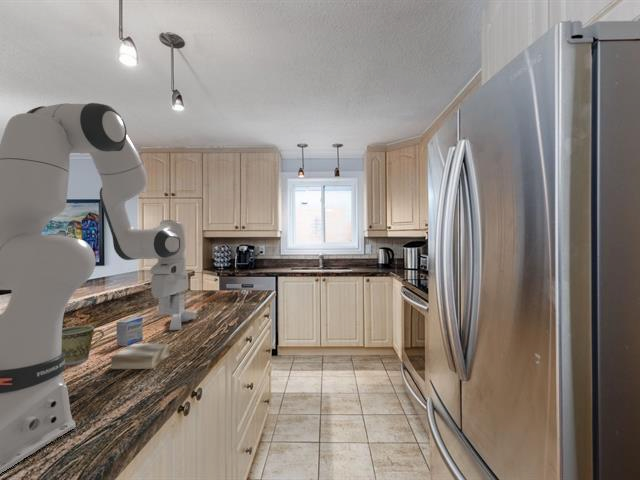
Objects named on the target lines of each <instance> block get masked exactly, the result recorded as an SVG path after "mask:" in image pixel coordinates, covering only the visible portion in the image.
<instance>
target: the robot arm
mask: <svg viewBox="0 0 640 480" xmlns="http://www.w3.org/2000/svg"><path fill="white" fill-rule="evenodd" d="M126 127H127V126H126V124H125V121H124V119H123V117H122V116H121V115H120V113H118V112H117V111H116V110H115V108H113V107H112V106H111V105H110V106H109V105H107V104H103V103H97V102H90V103H67V102H66V103H58V104H54V105H53V104H52V105H48V106H47V105H46V106H44V105H43V106H41V105H40V106H38V107H34V108H32V109H30V110H28V111H27V112H25V113H18V114H16V115H13V116H11V117H10V119H9V120H8V122H7V124H6V127H5V128H4V131H3V134H2V137H1V141H0V291H11V294H10V297H9V301H8V304H7V306H6V308H5V310H4V311H3V312H2V313H1V314H0V474H1V473H2V472H4V471H6V470H7V469H9V468H11V467H12V466H14V465H15V464H17V463H18V462H20V461H21V460H23V459H24V458H26V457H28V456H29V455H30V454H32V453H34V452H35V451H37V450H38V449H40V448H41V447H43V446H45V445H46V444H48V443H50V442H51V441H53V440H54V439H56V438H57V437H59V436H61V435H63V434H65V433H67V432H68V431H70V430H72V429H74V428H75V427H76V428H77V426H76V421H75V420H74V419H73V416H72V413H71V406H70V404H71V403H70V396H69V391H68V386H67V384H66V382H65V379H64V375H63V374H64V373H63V372H64V370H65V368H66V366H65V359H64V352H62V329H63V324H64V323H63V322H64V315H65V310H66V308H67V306H68V303H69V301H70V300H71V297H72V296H73V295H74V293H75V292H76V291H77V289H79V287H81V286H82V285H83V284H85V283H87V282H88V280H89V279H90V278H91V277H92V275H93V273H94V270H95V268H96V263H97V261H96V260H97V259H96V255H95V252H94V250H93V248H92V247H91V245H90V244H89V243H88V242H87V241H85V240H83V239H81V238H80V239H79V238H75V237H73V236H67V235H60V234H43V232H44V230H45V228H46V226H47V225H48V224H49V222H51V221H52V219H54V218H55V217H57V216H59V215H60V214H61V213H62V212H64V210H65V209H66V207H67V201H68V191H69V189H68V187H69V178H70V155H71V154H89V155H90V156H91V158H92V162H93V164H94V166H95V168H96V171H97V173H98V174H99V177H100V180H101V188H100V189H99V200H100V203H101V207H102V210H103V213H104V216H105V220H106V222H107V224H108V228H109V230H110V233H111V237H112V243H113V249H114V252H115V253H116V255H117V256H118V257H120V259H122V260H123V261H124V260H125V261H134V260H153V259H155V260H156V259H157V262H156V263H155V264H154V265H153V266H152V267H151V268H150V275H152V276H151V282H150V284H151V286H150V287H151V295H152V297H153V298H156V299H159V298H162V300H163V302H164V308H165V309H169V308H171V303H170V295H173V294H176V295H182V293H181V292H184V291H187V290H188V289H189V275H188V271H187V270H186V268H187V267H186V264H187V263H186V262H187V261H186V259H187V258H186V254H185V249H186V243H187V240H186V229H185V226H184V224H183V223H182V222H180V221H179V220H178V221H177V220H171V219H170V220H169V219H165V220H162V221H160V222H159V225H158V226H156V227H154V228H151V229H150V228H149V229H144V228H141V229H138V228H135V227H133V226H132V225H131V222H130V219H129V215H128V211H127V209H126V202H127V201H130V200H131V199H134V197H137V196H139V194H140V193H142V192H143V191H144V189H145V188H146V186H147V183H148V175H147V172H146V169H145V167H144V165H143V162H142V160H141V157H140V155H139V153H138V150H137V149H136V147H135V146H134V144H133V142H132V140H131V139H130V137H129V136H128V134H127V128H126ZM76 428H75V429H76ZM75 429H74V430H75ZM72 431H73V430H72ZM67 434H68V433H67ZM28 458H29V457H28ZM20 463H21V462H20ZM17 465H18V464H17ZM15 466H16V465H15ZM15 466H14V467H15ZM12 468H13V467H12ZM12 468H11V469H12ZM9 470H10V469H9ZM7 471H8V470H7ZM7 471H6V472H7ZM4 473H5V472H4ZM2 474H3V473H2ZM2 474H1V475H2Z"/></svg>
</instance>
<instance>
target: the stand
mask: <svg viewBox="0 0 640 480" xmlns="http://www.w3.org/2000/svg"><path fill="white" fill-rule="evenodd" d="M170 354H171V353H170V343H133V344H131V345H129V346H126V348H124V349H122V350H120V351H118V352H117V353H114V354H113V355H111V357H110V361H111V363H110V365H111V366H110V369H111V370H133V369H135V370H138V369H140V370H142V369H144V370H149V369H150V370H151V369H154V368H155V367H156V366H157V365H158V364H160V363H162V362H163V361H164V360H165V359H166V358H168V357H169V356H170Z"/></svg>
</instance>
